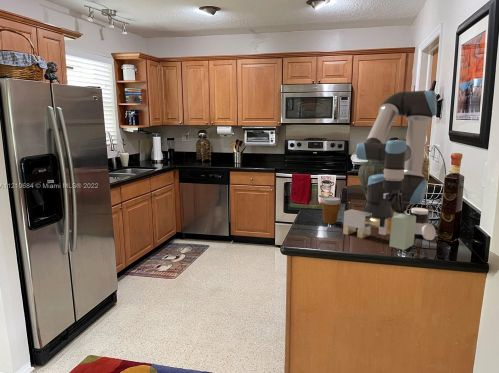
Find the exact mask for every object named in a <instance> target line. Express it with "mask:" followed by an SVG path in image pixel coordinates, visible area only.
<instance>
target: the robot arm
mask: <svg viewBox="0 0 499 373" xmlns="http://www.w3.org/2000/svg"><path fill="white" fill-rule="evenodd" d="M437 112H438V102H437V94H436V92H435V91H434V90H415V91H413V90H409V91H405V90H404V91H398V92H396V93H393V94H391V95H389V96H388V97H387V98H386V99H384V101H383V102H381V104H380V105H379V107H378V112H377V113H378V115H377V117H376V119H375V121H374V123H373V125H372V127H371V129H370V131H369V133H368V135H367V138H366V140H365V142H359V143H357V145H356V147H355V148H356V149H355V156H356V158H357V159H358V160H362V161H368V160H373V161H385V166H384V170H383V172H384V174H377V175H372V176H370V177H369V179H368V184H367V185H368V189H367V199H366V204H365V206H364V209H363V212H368V213H372V217H373V218H378V219H380V221H379V228H378V234H379V235H381V236H382V235H383V236H386V235H387V234H386V227H387V218H392V217H394V216H396V215H399V214H401V213H402V214H404V204H405V203H407V204H410V205H411V204H414V205H416V204H417V205H419V204H422V202H423V201H424V199H425V196H426V192H427V189H428V181H427V180H426V179H425V175H424V174H423V173H422V172H423V164H424V157H425V147H426V140H427V133H428V126H429V123H430V122H431V121H432V120H433V117H435V116H437ZM399 116H403V117H404V116H405V120H406V121H407V122H408V125H407V133H406V139H405V140H400V139H399V140H397V139H396V140H393V139H392V140H391V139H390V140H387V141H386V139H387V137H388V134H389V132H390V129H391V127H392V125H393V123H394V120H396V119H397V118H398V117H399ZM385 141H386V143H385ZM392 207H393V209H392ZM393 210H394V212H393Z"/></svg>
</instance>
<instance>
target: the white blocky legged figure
mask: <svg viewBox="0 0 499 373" xmlns="http://www.w3.org/2000/svg"><path fill="white" fill-rule="evenodd" d="M363 211H364V210H363ZM363 211H361V210H356V209H353V208H352V209H348V210H344V211H343V223H342V224H343V225H342V229H343V230H342V234H344V235H348V236H349V235H350V234H353V233H355V232H357V235H356V236H357V237H356V238H359V239H364V238H367V237H369V236H370V235H371V233H372V232H371V230H372V229H371V228H372V227H370V226H366V225H365V219H366V216H368V217H372V213H368V212H363Z"/></svg>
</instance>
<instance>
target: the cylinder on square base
mask: <svg viewBox="0 0 499 373" xmlns="http://www.w3.org/2000/svg"><path fill="white" fill-rule="evenodd" d="M391 220H392V218H387V227H386V235H390V232H391ZM379 221H380V219H378V218H373V217H368V216H366V219H365V225H366V226H370V227H371V228H375V229H379Z"/></svg>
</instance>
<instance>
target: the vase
mask: <svg viewBox="0 0 499 373" xmlns="http://www.w3.org/2000/svg"><path fill="white" fill-rule="evenodd" d="M384 166H385V161H373V160H366V162H364V163H362V164H361V165H360V166H359V168H358V172H357V173H358V181H359V184H360V187H361V189H362V191H363V194H364V196H365V198H366V200H367V189H368V185H367V184H368V179H369V177H370V176H372V175H377V174H384V172H383V170H384Z"/></svg>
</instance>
